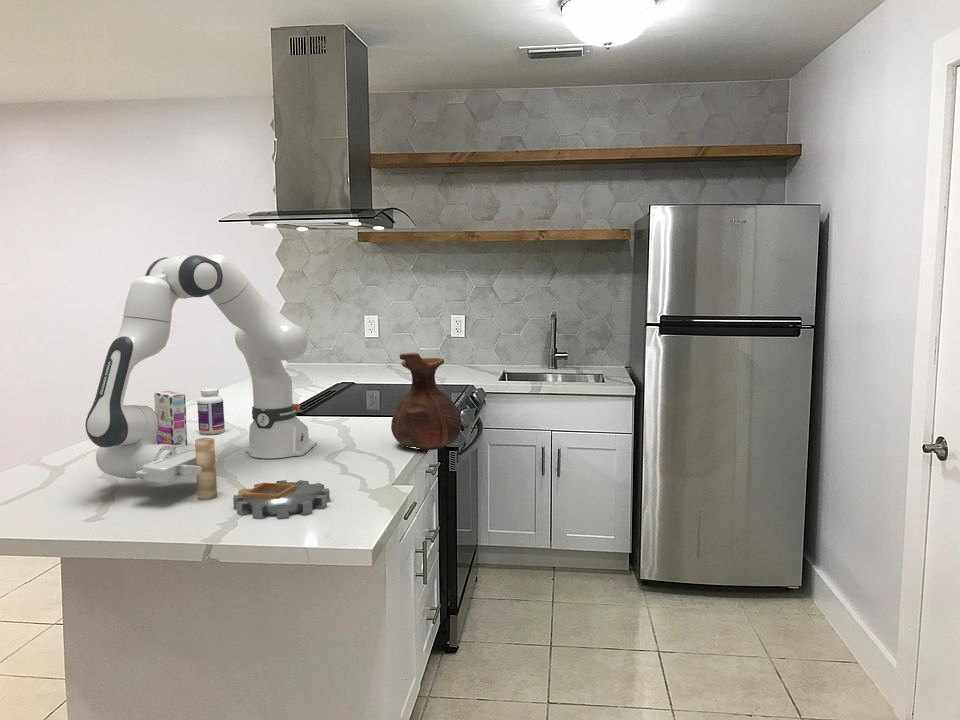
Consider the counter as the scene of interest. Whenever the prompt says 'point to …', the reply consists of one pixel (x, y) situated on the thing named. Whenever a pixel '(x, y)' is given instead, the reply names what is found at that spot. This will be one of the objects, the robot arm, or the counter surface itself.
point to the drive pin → (206, 468)
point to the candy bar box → (171, 417)
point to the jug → (425, 408)
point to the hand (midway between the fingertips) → (209, 466)
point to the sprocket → (281, 499)
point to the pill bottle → (210, 412)
